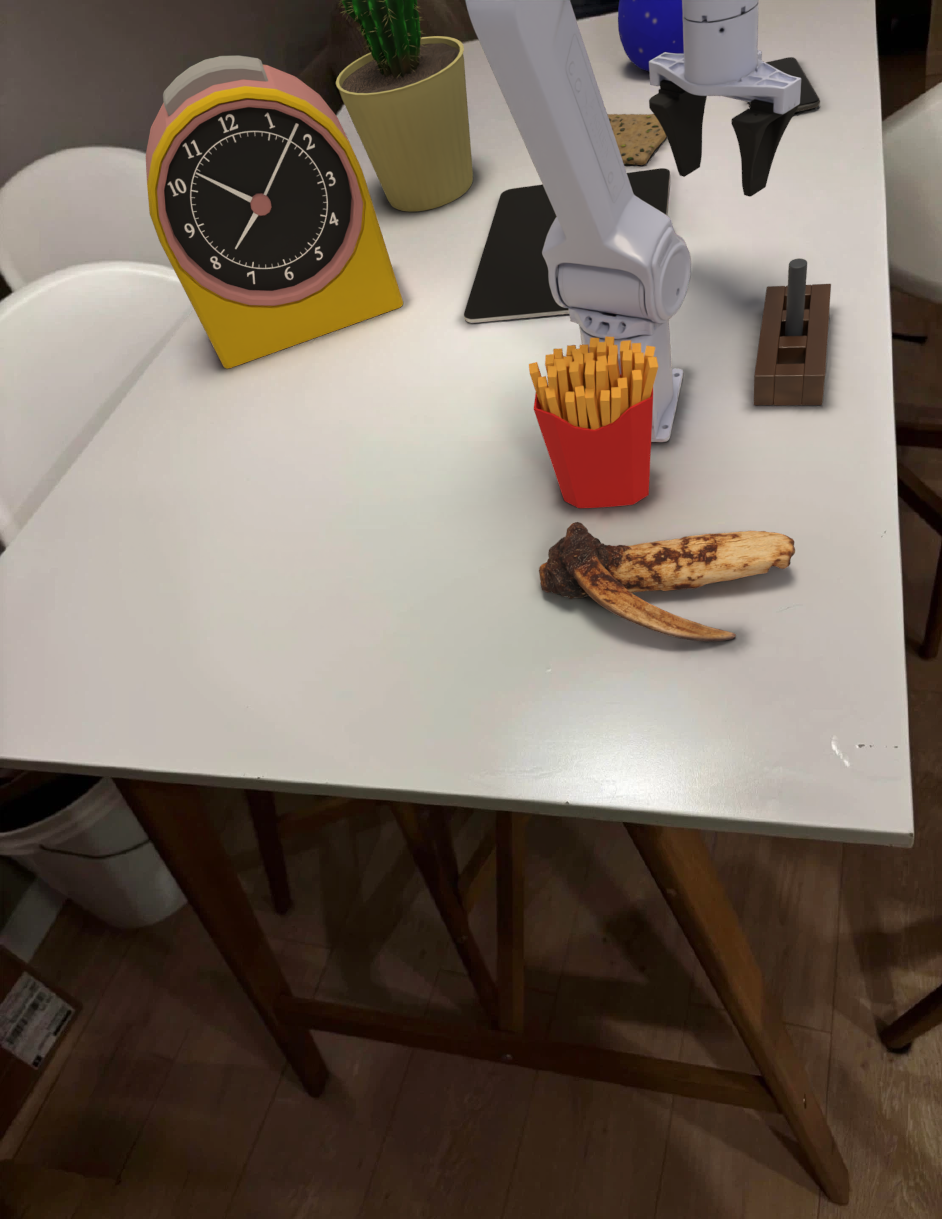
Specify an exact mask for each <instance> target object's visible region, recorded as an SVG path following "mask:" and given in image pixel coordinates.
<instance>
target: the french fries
mask: <svg viewBox="0 0 942 1219" xmlns="http://www.w3.org/2000/svg"><path fill="white" fill-rule="evenodd" d="M552 350H553V351H552V353H550V354H545V356H544V357H545V359H544V366H545V371H546V375H544V376H542V374H541V370H540V366H539V363H538V361H536V362H535V361H534V362H531V363H530V362H529V363H528V370H529V377H530V379H531V382H532V384H533V388H534V390H535V394H534V401H533V402H534V403H533V411H534V412H533V413H534V415H535V418H536V420H537V424H538V427H539V430H540V433H541V436H542V439H543V442H544V445H545V447H546V450H547V454H548V457H549V460H550V462H551V466H552V469H553V471H554V474H555V477H556V481H557V482H558V483H557V484H558V486H559V489H560V492H561V495H562V499H563V501H564V502H566V503H567V504H569V505H571V506H573V507H575V508H577V509H595V508H596V509H597V508H611V507H622V506H623V507H624V506H632V505H635V504H637V503H638V502H640V501H641V500H643V499H645V498H646V497H648V496H649V495H650V494H649V493H650V477H651V476H650V474H651V452H652V442H651V434H652V412H653V385H654V381H655V378H656V374H657V370H658V362H657V357H654V352H655V347H653V346H647V345H646V350H645V355H644V352H642V353H641V343H632V348H631V340H628V341H621V343H620V362H621V374H620V371H619V364H618V345H614V337H607V336H605V342H599V338H590V344H589V345H582V344H579V348H577V345H576V344H572V345H571V344H570V345H566V351H565V355H564V352H563V348H562V347H561V348H553V349H552Z"/></svg>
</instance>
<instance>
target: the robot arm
mask: <svg viewBox="0 0 942 1219" xmlns="http://www.w3.org/2000/svg"><path fill="white" fill-rule="evenodd" d="M464 1H465V6H466V9H467V13H468V17H469V19H470V22H471V25H472V28H473V31H474V33H475V35H476V38H477V39H478V41H479V44H480V46H481V48H482V51H483V53H484V55H485V58H486V60H487V62H488V64H489V66H490V69H491V70H492V74H493V76H494V78H495V80H496V82H497V85H498V87H499V89H500V92H501V94H502V96H503V98H504V100H505V102H506V105H507V107H508V109H509V112H510V114H511V116H512V118H513V120H514V123H515V125H516V128H517V130H518V133H519V134H520V136H521V137H520V138H522V142H523V143H524V146H525V148H526V150H527V152H528V154H529V157H530V159H531V161H532V164H533V166H534V168H535V170H536V173H537V175H538V177H539V180H540V182H541V185H542V184H543V186H544V189H545V191H546V193H547V195H548V198H549V200H550V202H551V204H552V207H553V209H554V211H555V214H556V216H557V217H556V218H555V220H554V222H553V224H552V225H551V227H550V230H549V232H548V234H547V237H546V240H545V244H544V247H543V251H542V255H543V257H544V259H545V261H546V264H547V266H548V278H549V285H550V289H551V292H552V295H553V298H554V300H555V301H556V303H557V304H558V305H559V306H561V307H564V308H568V309H569V314H568V315H569V321H570V322H572V323H575V324H577V325H578V327H579V328H578V329H579V334H580V341H581V345H589V344H590V338H599V342H605V336H607V337H614V345H618V364H619V371H620V374H621V362H620V343H621V341H628V340H631V348H632V343H641V353H642V352H644V355H645V350H646V345H647V346H653V347H655V352H654V357H657V362H658V370H657V374H656V378H655V381H654V385H653V412H652V434H651V443H666V442H668V441H669V440H670V439H671V435H672V429H673V425H674V420H675V415H676V412H677V406H678V402H679V397H680V392H681V387H682V384H683V378H684V370H683V368H680V367H679V368H678V367H676V368H675V367H674V368H673V364H672V346H671V345H672V344H671V331H670V330H671V328H670V327H671V326H670V320H671V319H672V318H673V316H675V315H676V314H677V312H678V311H679V310H680V309H681V307H682V305H683V303H684V301H685V298H686V296H687V293H688V289H689V285H690V281H691V276H692V275H691V273H692V256H691V253H690V250H689V247H688V245H687V243H686V240H685V239H684V238H683V237H682V236H681V235H679V234H678V233H677V232H676V230H675V227H674V225H673V222H672V218H671V217H670V216H668V214H667V215H665V214H664V213H662V212H661V211H659V210H657V209H656V208H654V207H652V206H651V205H649V204H647V203H646V202H644V201H642V200H641V199H639V198H638V197H636V196H635V195H634V194H633V191H632V188H631V185H630V182H629V179H628V176H627V173H628V172H627V170H626V167H625V164H623V160H622V157H621V154H620V151H619V148H618V145H617V142H616V139H615V136H614V133H613V130H612V127H611V124H610V121H609V118H608V115H607V114H608V112H607V109H606V106H605V103H604V100H603V97H602V94H601V91H600V87H599V85H598V81H597V79H596V76H595V72H594V69H593V67H592V63H591V60H590V58H589V54H588V51H587V48H586V45H585V42H584V40H583V36H582V33H581V29H580V27H579V24H578V21H577V18H576V14H575V11H574V9H573V5H572V2H571V0H464ZM759 2H760V0H682V13H683V42H684V54H675V53H667V52H664V53H663V54H661V55H659V56H657V57H656V58H654V59H652V60H650V61H649V71H648V72H649V73H648V74H649V85H651V86H654V87H659V88H658V90H657V91H658V93H656V94H654V95H653V96H651V97H650V98H649V99H648V107H649V110H650V111H651V113H652V114H654V115H655V116H656V118H657V119H658V121H659V123H660V124H661V126H662V128H663V130H664V132H665V134H666V139H667V142H668V145H669V148H670V150H671V153H672V155H673V159H674V162H675V166H676V169H677V172H678V175H679V176H680V177H683V178H685V177H687V176H689V175H690V174H692V173H693V172H695V171H696V170H698V169H700V168H701V163H702V158H703V157H702V156H703V124H704V115H705V110H706V109H705V108H706V103H707V99H708V98H707V97H724V98H729V99H733V100H738V101H742V102H747V103H749V104H750V103H751V104H750V106H749V107H750V108H747V109H745V110H743V111H742V112H740V113H739V114H737V115H736V116H733V117H732V118H731V119H730V120H731V121H730V122H731V126H732V128H733V131H734V133H735V137H736V141H737V144H738V148H739V154H740V155H739V156H740V164H741V167H740V168H741V187H742V192H743V196H745V197H752V196H755V195H756V194H757V193H759V192H761V191H762V190H764V189H766V187H767V183H768V180H769V175H770V173H771V168H772V165H773V162H774V159H775V156H776V152H777V150H778V147H779V146H780V142H781V140H782V138H783V135H784V133H785V131H786V129H787V128H788V126H789V123H790V122H791V120H792V118H793V117H794V115H795V114H796V113H797V112H796V110H797V109H798V105H799V104H800V92H801V78H798V77H794V76H791V75H788V74H786V73H784V72H782V71H780V70H778V69H776V68H774V67H773V66H771V65H769V64H767V63H765V61H763V51H762V50H760V49H758V48H759V46H758V45H759Z"/></svg>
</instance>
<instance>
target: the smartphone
mask: <svg viewBox="0 0 942 1219" xmlns="http://www.w3.org/2000/svg"><path fill="white" fill-rule="evenodd" d="M764 62H765V61H764ZM765 63H767V64H769V65H771V66H773V67H774V68H776V69H778V70H780V71H782V72H784V73H786V74H788V75H791V76H794V77H798V78H801V92H800V104H799V105H798V109H797V110H796V112H795V113H798V112H799V113H800V112H803V111H808V110H812V109H816V108H818V107H819V106H820V104H821V99H820V97H819V95H818V93H817V92H816V90H815V88H814V86H813V85H812V83H811V81H810V80H809V78H808V77H807V75H806V73H805V71H804V70H803V68H802V67H801V65H800V63H799V61H798V60H797V58H796V57H794V56H788V57H783V58H780V59H774V60H770V61H766V62H765ZM749 104H751V103H750V102H749Z"/></svg>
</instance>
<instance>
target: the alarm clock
mask: <svg viewBox="0 0 942 1219" xmlns="http://www.w3.org/2000/svg"><path fill="white" fill-rule="evenodd" d="M162 99H163V100H162V101H163V103H162V105H161V107H160V109H159V111H158V112H157V114H156V116H155V118H154V120H153V122H152V124H151V127H150V130H149V136H148V141H147V146H146V152H145V171H146V172H145V174H146V189H147V199H148V211H149V212H148V214H149V216H150V219H151V222H152V224H153V227H154V230H155V234H156V235H157V237H158V241H159V243H160V246H161V247H162V250H163V251H164V253H165V255H166V257H167V260H168V261H169V264H170V265H171V267H172V269H173V271H174V273H175V274H176V277H177V280H178V281H179V282H180V285H181V287H182V289H183V290H184V292H185V294H186V296H187V298H188V300H189V302H190V304H191V306H192V308H193V310H194V312H195V314H196V316H197V318H198V320H199V321H200V324H201V326H202V328H203V330H204V332H205V333H206V335H207V338H208V339H209V341H210V343H211V345H212V347H213V350H214V351H215V353H216V355H217V357H218V359H219V361H220V363H221V365H222V366H223V368H224V369H232V368H235V367H238V366H240V365H243V364H246V363H248V362H251V361H255V360H257V359H260V358H263V357H266V356H269V355H271V354H274V353H276V352H280V351H282V350H285V349H288V348H290V347H293V346H297V345H299V344H302V343H304V342H308V341H310V340H314V339H316V338H319V337H321V336H324V335H327V334H330V333H332V332H333V333H334V332H336V331H339V330H341V329H344V328H347V327H350V326H352V325H355V324H358V323H361V322H363V321H366V320H370V319H372V318H375V317H378V316H380V315H383V314H386V313H388V312H391V311H394V310H398V309H400V308H401V307H403V305H404V300H403V297H402V293H401V290H400V287H399V284H398V281H397V278H396V274H395V271H394V268H393V264H392V262H391V261H392V260H391V258H390V256H389V252H388V249H387V245H386V242H385V239H384V236H383V232H382V229H381V226H380V223H379V219H378V216H377V213H376V209H375V206H374V203H373V200H372V197H371V193H370V190H369V187H368V184H367V181H366V178H365V175H364V171H363V168H362V166H361V164H360V162H359V159H358V157H357V155H356V153H355V151H354V148H353V146H352V144H351V142H350V141H349V138H348V136H347V134H346V132H345V130H344V128H343V126H342V123H341V122H340V120H339V118H338V116H337V114H335V112H334V111H333V109H332V108H331V107H330V106H329V105H328V104H327V102H326V101H325V99H323V97H322V96H321V95H320V93H318V92H316V90H314V89H313V88H311V87H310V86H309V85H307V84H306V83H304V82H303V81H302V80H301V79H299V78H298V77H297V76H296V75H292V74H291V73H288V72H285V71H282V70H280V69H278V68H275V67H272V66H270V65H268V64H263V62H262V59H260V58H258V57H253V56H245V55H219V56H215V57H210V58H206V59H204V60H203V59H202V61H200V62H197V63H195V64H193V65H190V66H189V67H188V68H187V69H185V70H184V71H182V72H181V73H180V74H179V75H177V77H175V78H174V79H173V81H171V83H170V84H169V85H168V86H167V87H166V88H165V89H164V91H163V93H162Z"/></svg>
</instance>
